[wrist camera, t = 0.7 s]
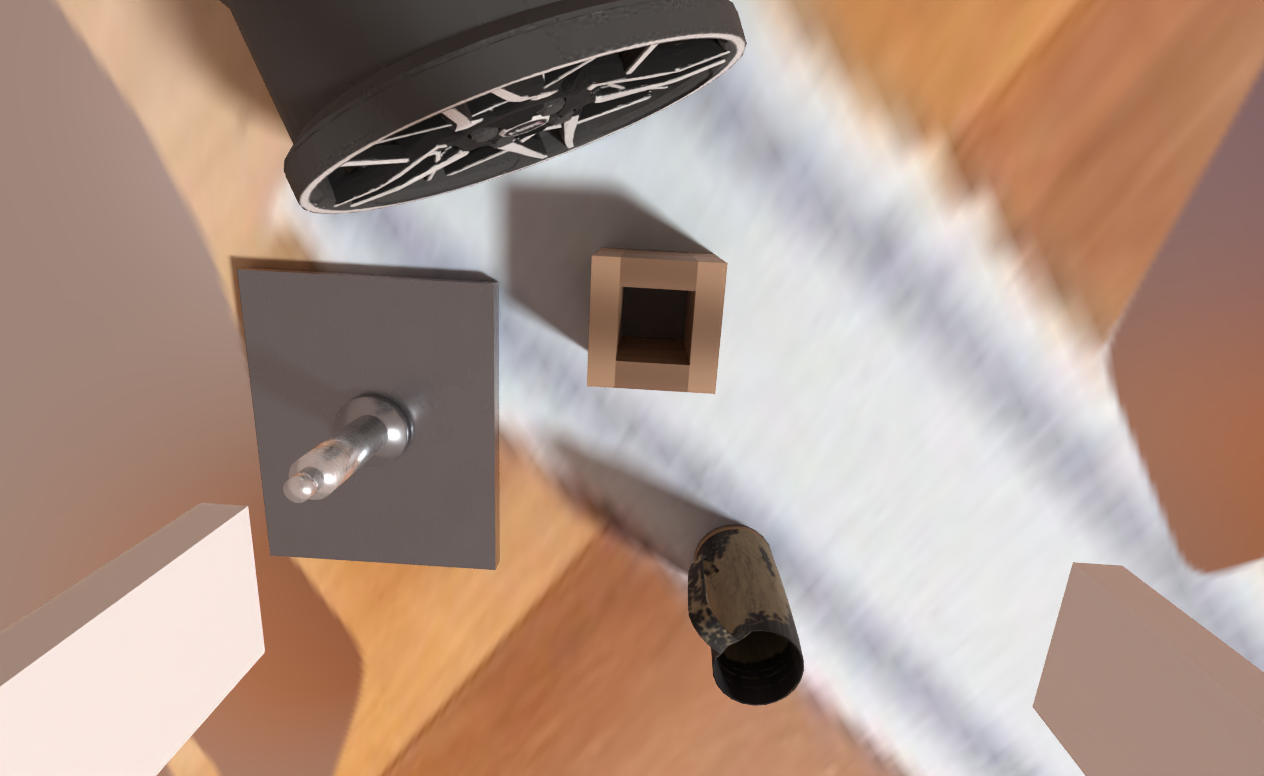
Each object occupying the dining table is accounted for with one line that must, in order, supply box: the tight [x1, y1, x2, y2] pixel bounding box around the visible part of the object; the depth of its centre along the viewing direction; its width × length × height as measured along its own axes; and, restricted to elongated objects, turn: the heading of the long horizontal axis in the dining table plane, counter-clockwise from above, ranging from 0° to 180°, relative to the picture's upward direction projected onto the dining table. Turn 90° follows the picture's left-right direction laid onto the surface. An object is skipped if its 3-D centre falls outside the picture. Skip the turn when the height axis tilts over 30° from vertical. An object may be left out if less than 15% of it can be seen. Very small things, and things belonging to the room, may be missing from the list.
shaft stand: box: [237, 268, 499, 570], centre depth 38 cm, size 20×16×11 cm
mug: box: [688, 525, 804, 705], centre depth 39 cm, size 8×6×12 cm
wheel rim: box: [220, 0, 747, 214], centre depth 27 cm, size 20×9×20 cm, turn 109°
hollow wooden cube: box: [587, 248, 727, 394], centre depth 37 cm, size 7×7×7 cm
